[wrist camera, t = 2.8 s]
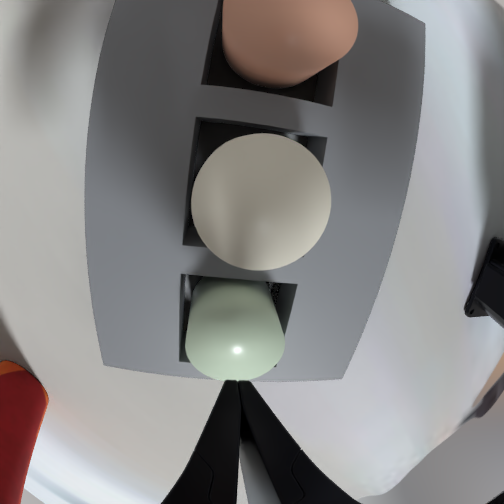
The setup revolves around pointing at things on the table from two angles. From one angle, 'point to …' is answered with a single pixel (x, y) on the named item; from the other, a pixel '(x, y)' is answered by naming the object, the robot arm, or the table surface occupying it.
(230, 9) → the pink button
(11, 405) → the paper cup
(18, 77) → the table surface
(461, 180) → the table surface
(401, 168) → the grey flat board
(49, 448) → the table surface
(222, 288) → the sage button
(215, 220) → the cream button
